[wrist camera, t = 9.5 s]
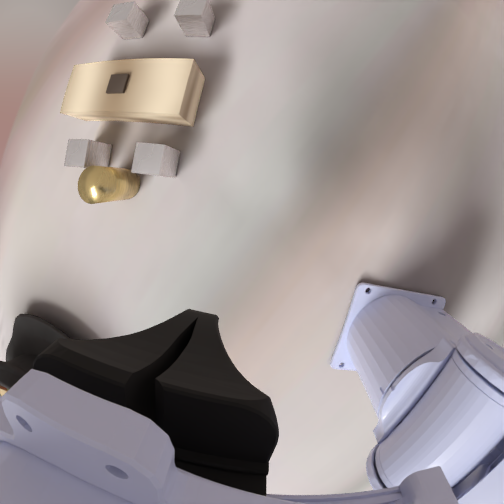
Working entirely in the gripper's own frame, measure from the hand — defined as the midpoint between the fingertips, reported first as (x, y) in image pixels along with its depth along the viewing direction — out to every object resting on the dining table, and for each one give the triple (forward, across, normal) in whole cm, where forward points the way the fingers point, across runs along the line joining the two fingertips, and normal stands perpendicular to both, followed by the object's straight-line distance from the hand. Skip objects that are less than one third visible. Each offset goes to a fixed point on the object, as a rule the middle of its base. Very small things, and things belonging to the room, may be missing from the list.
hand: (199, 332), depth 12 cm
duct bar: (+10, +9, -12) cm, 18 cm away
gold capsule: (+10, +9, -5) cm, 14 cm away
